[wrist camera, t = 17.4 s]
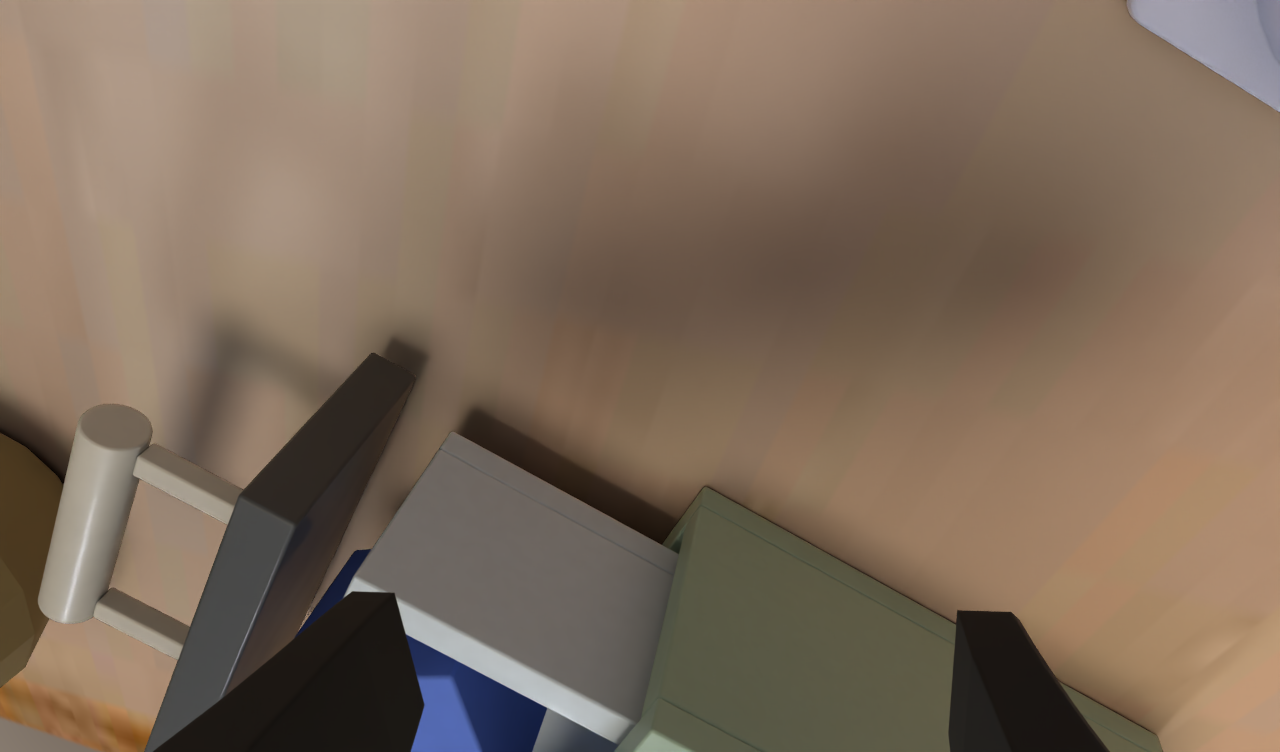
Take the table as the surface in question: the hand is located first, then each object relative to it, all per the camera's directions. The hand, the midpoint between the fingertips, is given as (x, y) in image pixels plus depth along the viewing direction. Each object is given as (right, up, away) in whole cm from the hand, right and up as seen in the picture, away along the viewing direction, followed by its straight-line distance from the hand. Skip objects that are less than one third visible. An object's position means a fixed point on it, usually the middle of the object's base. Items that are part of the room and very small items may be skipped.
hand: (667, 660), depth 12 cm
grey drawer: (-5, -2, +13) cm, 14 cm away
